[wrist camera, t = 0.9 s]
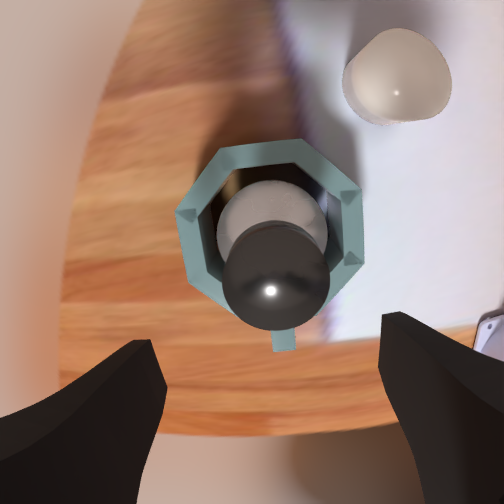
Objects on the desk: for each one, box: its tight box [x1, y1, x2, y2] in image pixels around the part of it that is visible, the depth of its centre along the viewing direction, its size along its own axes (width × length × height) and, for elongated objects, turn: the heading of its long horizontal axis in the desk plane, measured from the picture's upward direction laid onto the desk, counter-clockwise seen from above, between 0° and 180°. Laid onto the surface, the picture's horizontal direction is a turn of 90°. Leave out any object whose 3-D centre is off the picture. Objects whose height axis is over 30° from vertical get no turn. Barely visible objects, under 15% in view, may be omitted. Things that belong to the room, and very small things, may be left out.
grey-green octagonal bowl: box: [175, 138, 364, 352], centre depth 16 cm, size 8×10×4 cm
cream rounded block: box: [342, 28, 452, 125], centre depth 13 cm, size 4×4×4 cm
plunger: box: [217, 180, 330, 331], centre depth 12 cm, size 5×5×6 cm
